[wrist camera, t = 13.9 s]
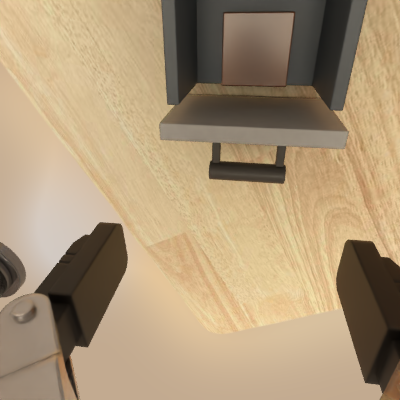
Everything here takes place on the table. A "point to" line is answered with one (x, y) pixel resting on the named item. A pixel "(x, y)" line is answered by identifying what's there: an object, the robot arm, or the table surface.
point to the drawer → (259, 106)
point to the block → (256, 48)
